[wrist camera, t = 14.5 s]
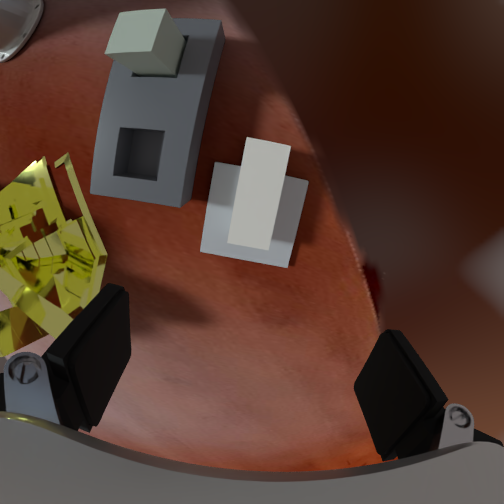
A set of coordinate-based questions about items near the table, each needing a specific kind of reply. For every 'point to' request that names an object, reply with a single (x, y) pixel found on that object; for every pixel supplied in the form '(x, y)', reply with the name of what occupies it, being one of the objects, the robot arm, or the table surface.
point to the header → (157, 123)
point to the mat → (222, 213)
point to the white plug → (258, 193)
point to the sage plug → (147, 43)
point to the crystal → (44, 257)
